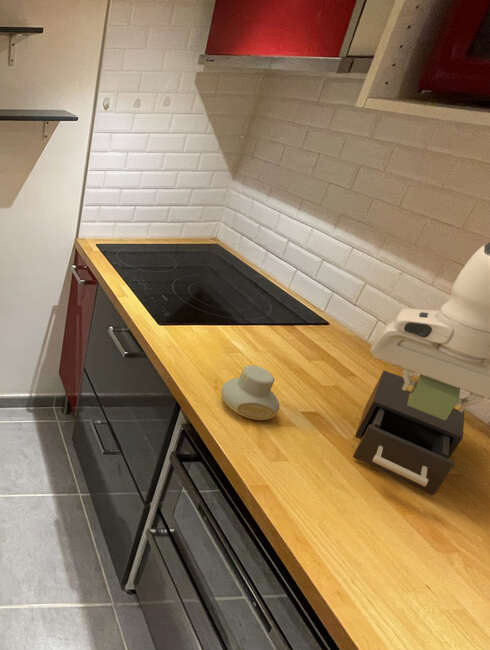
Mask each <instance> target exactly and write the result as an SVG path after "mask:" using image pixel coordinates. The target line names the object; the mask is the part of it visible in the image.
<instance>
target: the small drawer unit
mask: <svg viewBox="0 0 490 650" xmlns="http://www.w3.org/2000/svg"><path fill="white" fill-rule="evenodd" d="M404 383H405V381H404V378H403V376H400V375H398V374H396V373H392V372H390V371H387V370H384V369H383V370H382V373H381V374H380V376H379V378H378V380H377V382H376V384H375V386H374V388H373V390H372V392H371V394H370V396H369V398H368V400H367V402H366V403H365V407H364V409H363V413H362V415H361V418H360V421H359V423H358V426H357V430H356V433H355V434H354V437H356V438H358V439H360V440H361V439H362V437H363V436H364V434H365V432H366V430H367V428H368V426H369V423H370V421H371V419H372V417H373V415H374V414H375V412H376V410H377V408H378V407H381V408H383V409H386V410H388V411H390V412H393V413H395V414H398V415H400V416H403V417H405V418H407V419H410V420H412V421H415V422H417V423H419V424H422V425H424V426H427V427H429V428H432V429H434V430H436V431H439V432H441V433H444V434H446V435H448V436H450V444H449V454H448V457H447V459H450V458H451V457H452V456H453V454H454V452H455V451H456V449H457V448H458V446H459V445H460V443H461V441H462V440H463V439H464V430H465V429H464V427H465V414H466V413H465V412H466V411H465V410H466V409H465V410H464V411H463V412H459V411H456V410H454V409H453V410H452V411H451V413H450V414H449V416H448V418H447V419H446V420H443V419H440V418H438V417H435V416H433V415H430V414H428V413H425V412H423V411H420V410H418V409H415V408H413V407H410V406H408V405H407V403H408V399H409V395H410V392H407V391H404V390H402V387H403V385H404Z"/></svg>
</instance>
